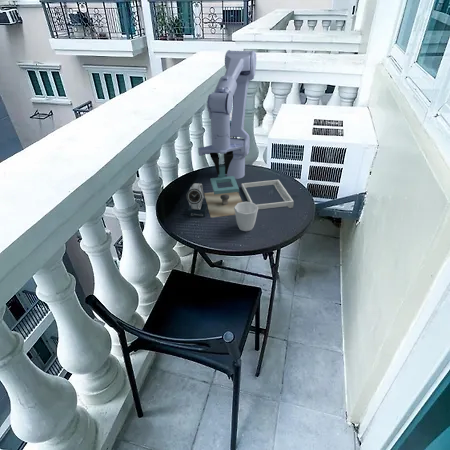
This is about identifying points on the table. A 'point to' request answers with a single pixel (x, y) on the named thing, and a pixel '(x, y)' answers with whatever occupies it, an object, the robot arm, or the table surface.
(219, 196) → the board
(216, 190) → the teal frame with handle
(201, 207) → the watch
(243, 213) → the cup
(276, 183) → the tray
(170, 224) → the table surface
